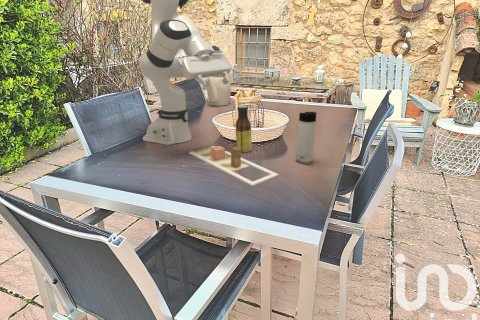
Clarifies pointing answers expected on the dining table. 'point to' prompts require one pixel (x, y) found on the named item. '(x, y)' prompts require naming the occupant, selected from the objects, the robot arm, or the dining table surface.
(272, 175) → the guide rails
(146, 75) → the robot arm
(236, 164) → the pale strip
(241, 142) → the sauce bottle
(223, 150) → the terracotta block
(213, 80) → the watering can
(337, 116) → the dining table surface
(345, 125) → the dining table surface
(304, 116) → the travel mug
